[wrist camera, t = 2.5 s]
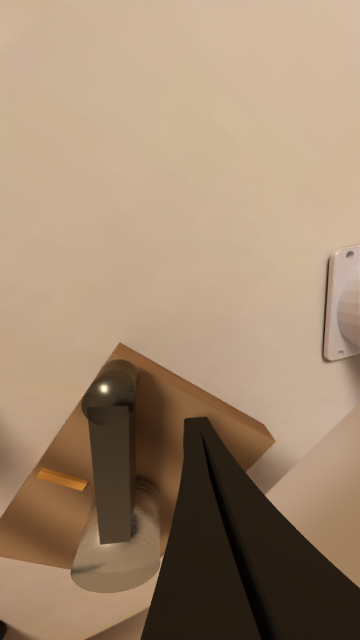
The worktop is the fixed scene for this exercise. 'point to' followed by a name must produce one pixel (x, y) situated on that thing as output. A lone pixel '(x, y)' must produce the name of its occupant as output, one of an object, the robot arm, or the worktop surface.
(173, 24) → the worktop surface
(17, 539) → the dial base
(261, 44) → the worktop surface
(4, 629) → the black water bottle
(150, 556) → the round-headed handle tool
